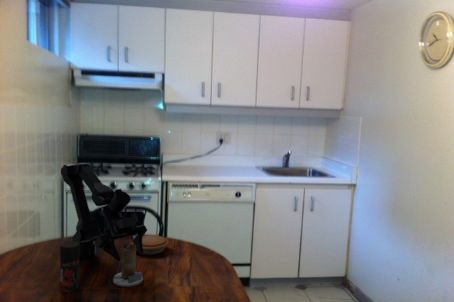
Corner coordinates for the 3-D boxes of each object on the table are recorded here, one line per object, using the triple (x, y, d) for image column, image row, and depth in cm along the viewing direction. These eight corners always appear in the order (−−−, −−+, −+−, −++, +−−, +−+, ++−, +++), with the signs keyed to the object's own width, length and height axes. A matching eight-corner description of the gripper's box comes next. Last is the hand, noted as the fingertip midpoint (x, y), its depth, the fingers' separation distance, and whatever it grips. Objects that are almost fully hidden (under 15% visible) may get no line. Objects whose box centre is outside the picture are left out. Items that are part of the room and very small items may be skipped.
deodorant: (82, 285, 130) (83, 242, 128) (70, 293, 124) (70, 248, 123) (68, 282, 132) (69, 240, 130) (55, 289, 126) (56, 245, 125)
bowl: (107, 279, 135) (108, 270, 135) (131, 271, 142) (132, 262, 142) (124, 289, 128) (124, 279, 128) (148, 280, 136) (148, 271, 136)
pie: (144, 241, 175) (144, 231, 175) (174, 247, 170) (175, 236, 170) (124, 252, 161) (124, 241, 160) (156, 259, 156) (157, 247, 155)
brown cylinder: (119, 279, 133) (119, 246, 132) (124, 273, 138) (124, 242, 137) (132, 280, 133) (133, 247, 132) (137, 274, 138) (137, 243, 136)
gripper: (99, 211, 128) (117, 252, 122) (145, 203, 142) (163, 240, 136) (87, 228, 134) (103, 268, 128) (132, 219, 148) (148, 255, 142)
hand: (131, 257), depth 134 cm, fingers open, 9 cm apart
